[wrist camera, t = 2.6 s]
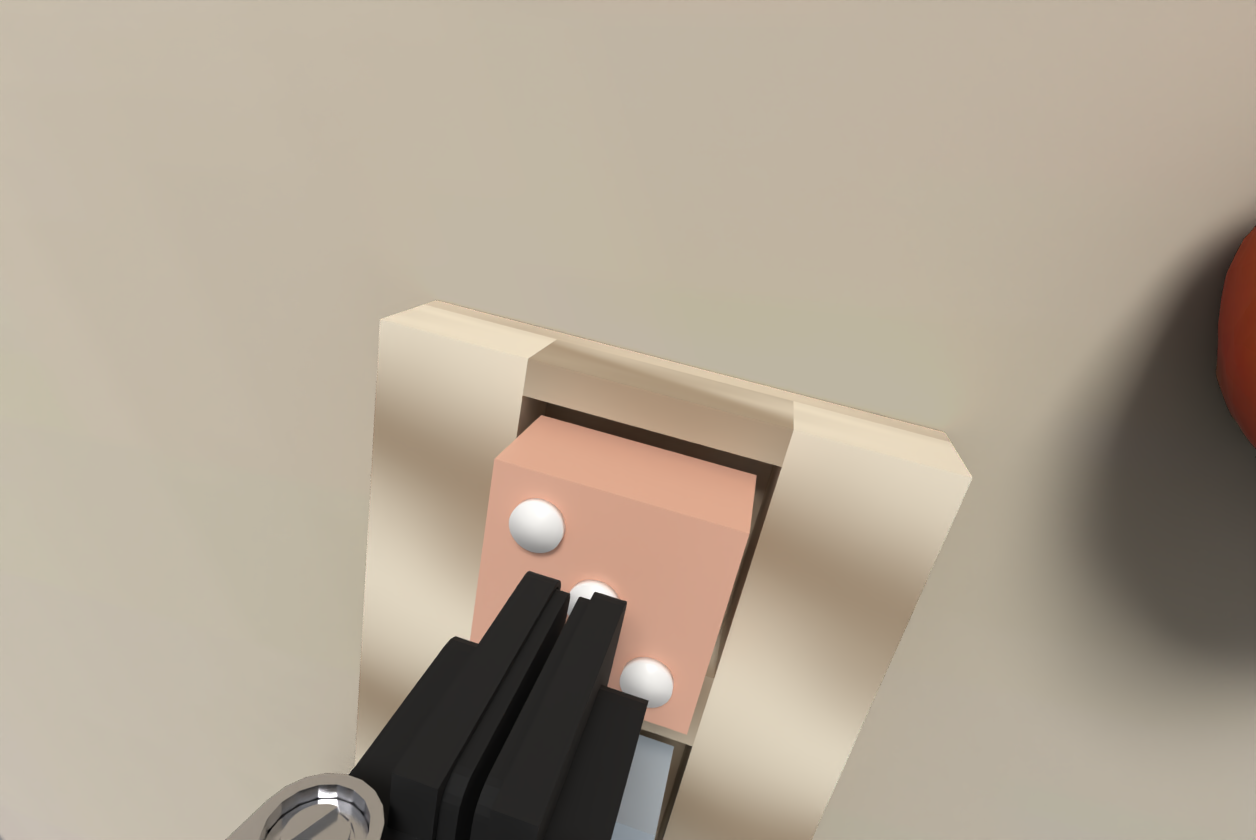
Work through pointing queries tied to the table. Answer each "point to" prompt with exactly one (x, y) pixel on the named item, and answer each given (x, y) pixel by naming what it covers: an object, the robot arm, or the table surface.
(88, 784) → the table surface
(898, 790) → the table surface
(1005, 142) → the table surface
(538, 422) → the key
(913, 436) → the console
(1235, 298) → the fruit
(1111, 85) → the table surface
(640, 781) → the key
